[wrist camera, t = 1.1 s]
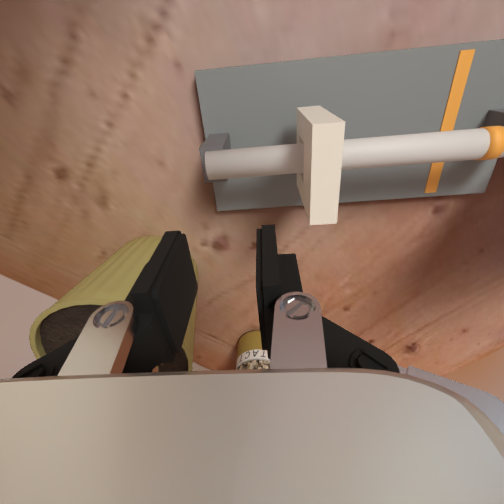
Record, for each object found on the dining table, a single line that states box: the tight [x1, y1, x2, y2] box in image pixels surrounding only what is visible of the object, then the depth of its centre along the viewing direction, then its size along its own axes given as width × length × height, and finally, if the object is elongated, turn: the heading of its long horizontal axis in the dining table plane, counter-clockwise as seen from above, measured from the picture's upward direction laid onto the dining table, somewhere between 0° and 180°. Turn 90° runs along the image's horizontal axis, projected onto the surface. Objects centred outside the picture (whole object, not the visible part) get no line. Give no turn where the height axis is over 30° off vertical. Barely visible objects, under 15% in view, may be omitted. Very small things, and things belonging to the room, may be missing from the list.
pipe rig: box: [194, 39, 504, 211], centre depth 26 cm, size 14×30×9 cm, turn 95°
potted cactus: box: [29, 236, 198, 372], centre depth 28 cm, size 15×15×30 cm
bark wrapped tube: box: [236, 330, 270, 370], centre depth 38 cm, size 7×7×25 cm
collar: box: [297, 105, 345, 225], centre depth 23 cm, size 7×2×9 cm, turn 5°
